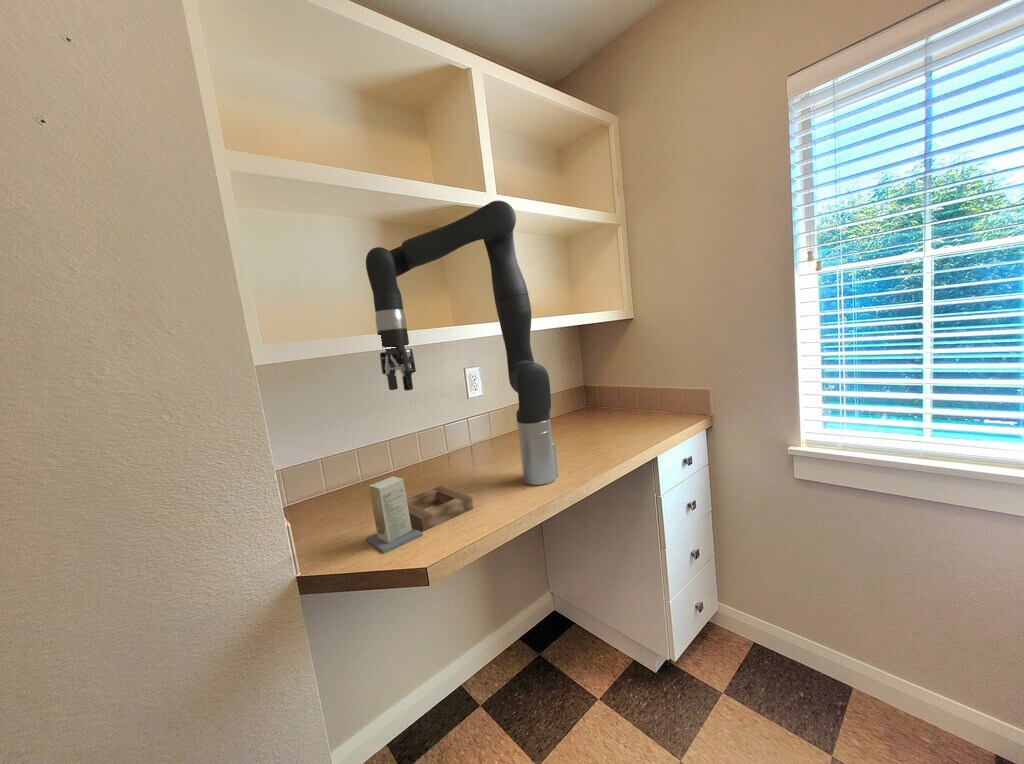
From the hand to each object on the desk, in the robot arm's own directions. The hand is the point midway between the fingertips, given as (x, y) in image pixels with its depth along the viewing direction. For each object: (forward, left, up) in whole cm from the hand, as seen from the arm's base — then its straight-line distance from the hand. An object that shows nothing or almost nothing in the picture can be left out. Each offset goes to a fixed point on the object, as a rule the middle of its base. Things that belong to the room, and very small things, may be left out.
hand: (400, 389), depth 106 cm
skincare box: (+14, +16, -30) cm, 37 cm away
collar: (+2, +12, -30) cm, 32 cm away
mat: (+14, +16, -30) cm, 37 cm away
